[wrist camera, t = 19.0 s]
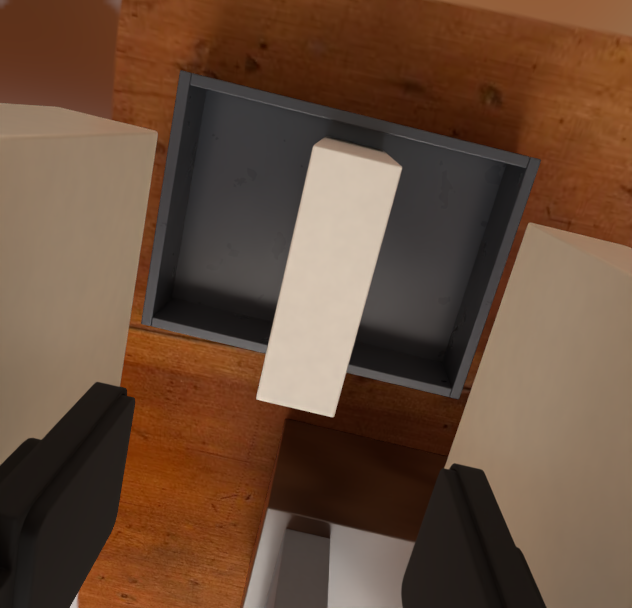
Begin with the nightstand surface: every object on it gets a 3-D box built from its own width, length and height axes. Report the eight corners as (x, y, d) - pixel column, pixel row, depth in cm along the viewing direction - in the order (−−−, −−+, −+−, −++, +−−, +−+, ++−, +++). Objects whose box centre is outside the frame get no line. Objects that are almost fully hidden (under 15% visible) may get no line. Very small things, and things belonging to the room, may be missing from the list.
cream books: (23, 438, 20) (-401, 852, 9) (56, 106, 17) (-540, 65, 6) (505, 549, 21) (712, 1082, 9) (626, 245, 17) (1175, 476, 6)
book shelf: (249, 566, 45) (222, 685, 36) (285, 417, 41) (267, 507, 32) (502, 624, 46) (543, 758, 36) (562, 483, 42) (626, 591, 32)
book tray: (164, 300, 39) (140, 324, 35) (201, 76, 35) (179, 70, 30) (446, 367, 40) (459, 400, 35) (516, 154, 35) (541, 159, 31)
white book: (285, 308, 38) (255, 400, 26) (325, 135, 35) (313, 144, 22) (338, 321, 38) (333, 418, 26) (383, 149, 35) (403, 166, 23)
